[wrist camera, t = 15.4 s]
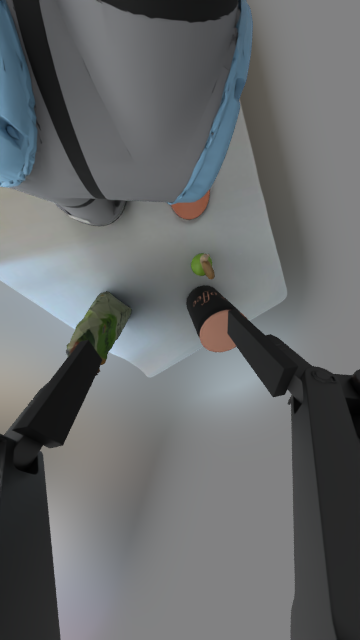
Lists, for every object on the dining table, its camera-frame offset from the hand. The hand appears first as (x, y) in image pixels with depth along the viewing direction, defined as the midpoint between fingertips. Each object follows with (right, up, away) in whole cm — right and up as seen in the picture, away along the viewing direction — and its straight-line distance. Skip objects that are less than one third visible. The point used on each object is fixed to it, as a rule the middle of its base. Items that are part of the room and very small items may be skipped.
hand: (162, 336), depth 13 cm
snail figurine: (+7, +18, +24) cm, 31 cm away
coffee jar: (+9, +8, +31) cm, 33 cm away
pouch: (-18, +5, +28) cm, 34 cm away
